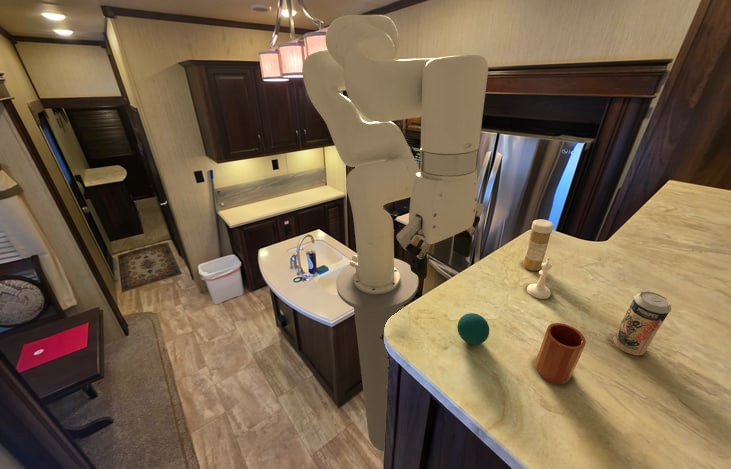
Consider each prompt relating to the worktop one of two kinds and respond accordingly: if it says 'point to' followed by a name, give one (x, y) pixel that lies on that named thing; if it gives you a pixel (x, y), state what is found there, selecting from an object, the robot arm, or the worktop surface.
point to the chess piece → (541, 283)
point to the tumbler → (559, 353)
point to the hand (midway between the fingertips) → (440, 263)
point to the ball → (473, 328)
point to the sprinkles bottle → (537, 244)
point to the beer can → (641, 322)
